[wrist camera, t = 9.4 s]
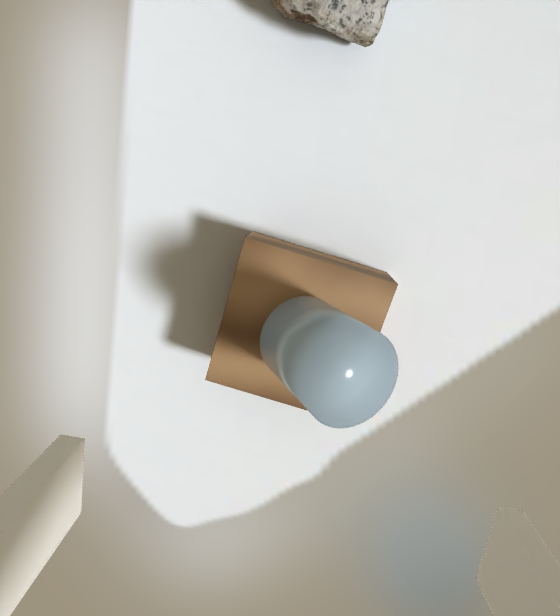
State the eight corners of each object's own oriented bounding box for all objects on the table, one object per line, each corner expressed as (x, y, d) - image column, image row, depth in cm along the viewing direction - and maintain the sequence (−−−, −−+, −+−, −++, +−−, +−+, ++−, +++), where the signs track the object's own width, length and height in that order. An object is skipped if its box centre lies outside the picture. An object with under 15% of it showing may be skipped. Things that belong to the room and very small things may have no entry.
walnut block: (252, 230, 37) (244, 237, 32) (386, 271, 37) (397, 284, 32) (217, 356, 40) (205, 379, 35) (341, 393, 40) (346, 421, 35)
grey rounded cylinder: (241, 342, 31) (283, 388, 25) (305, 277, 31) (361, 306, 25) (296, 394, 34) (345, 446, 27) (353, 333, 34) (415, 371, 28)
